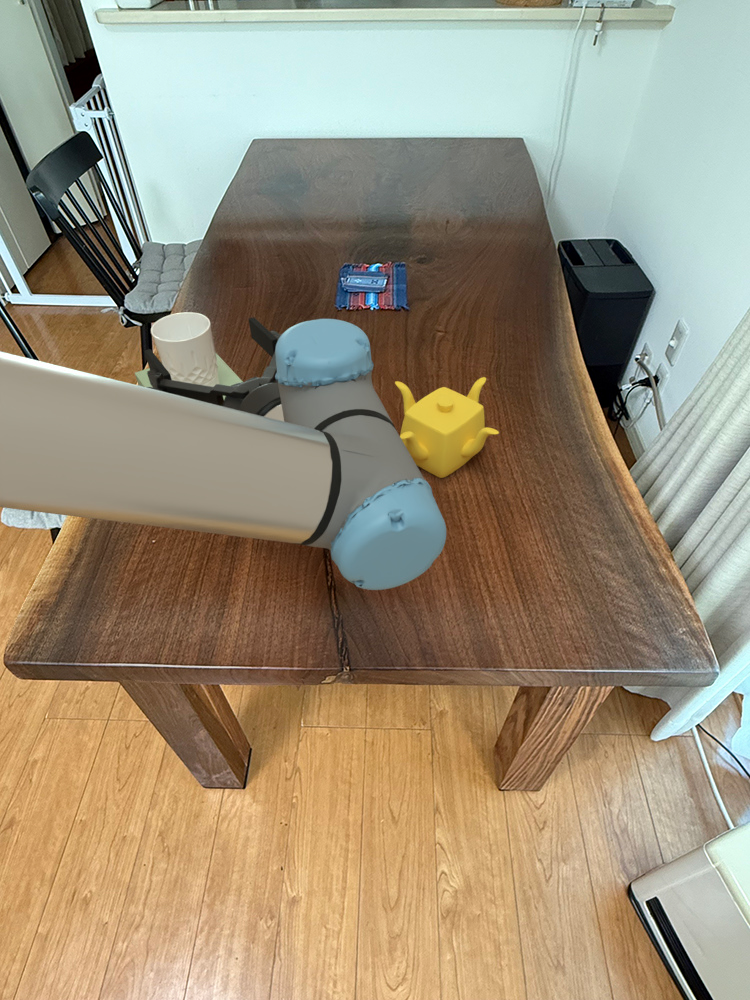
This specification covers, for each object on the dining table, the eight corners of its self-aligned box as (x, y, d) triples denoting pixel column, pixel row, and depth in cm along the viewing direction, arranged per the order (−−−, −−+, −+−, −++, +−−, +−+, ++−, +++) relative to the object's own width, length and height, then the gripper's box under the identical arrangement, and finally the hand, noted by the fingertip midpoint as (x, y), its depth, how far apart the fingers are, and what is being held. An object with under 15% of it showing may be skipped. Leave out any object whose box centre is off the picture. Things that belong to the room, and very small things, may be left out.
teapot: (398, 484, 88) (400, 432, 82) (391, 425, 98) (392, 375, 92) (495, 480, 89) (505, 428, 82) (479, 421, 99) (486, 371, 92)
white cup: (158, 396, 86) (138, 334, 79) (189, 368, 92) (173, 307, 84) (204, 408, 84) (188, 345, 77) (234, 379, 89) (221, 317, 82)
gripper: (177, 504, 60) (112, 401, 72) (381, 418, 70) (294, 340, 82) (158, 446, 55) (91, 346, 67) (382, 362, 64) (288, 288, 77)
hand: (203, 342), depth 75 cm, fingers open, 13 cm apart
